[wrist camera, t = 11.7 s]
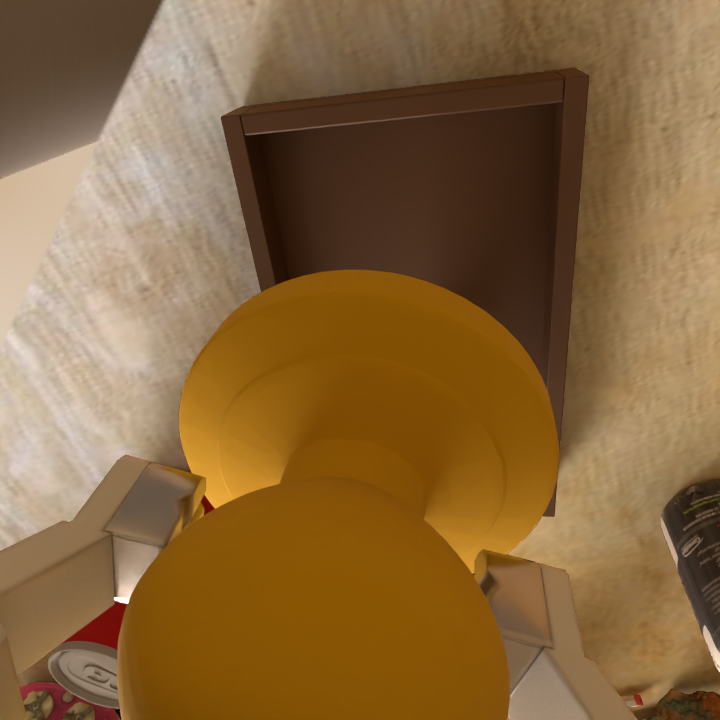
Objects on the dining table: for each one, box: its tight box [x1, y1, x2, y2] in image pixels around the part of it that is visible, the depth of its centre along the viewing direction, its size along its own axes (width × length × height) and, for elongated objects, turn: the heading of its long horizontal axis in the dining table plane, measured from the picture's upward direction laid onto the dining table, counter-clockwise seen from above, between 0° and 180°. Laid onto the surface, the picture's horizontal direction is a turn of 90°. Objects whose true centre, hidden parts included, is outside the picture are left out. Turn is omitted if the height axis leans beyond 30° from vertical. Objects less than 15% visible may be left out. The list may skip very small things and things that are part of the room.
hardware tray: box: [221, 68, 589, 517], centre depth 28 cm, size 14×22×3 cm, turn 7°
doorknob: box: [117, 270, 559, 720], centre depth 10 cm, size 8×8×8 cm
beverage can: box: [48, 495, 215, 709], centre depth 33 cm, size 7×7×12 cm
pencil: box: [621, 694, 643, 708], centre depth 44 cm, size 1×9×1 cm
